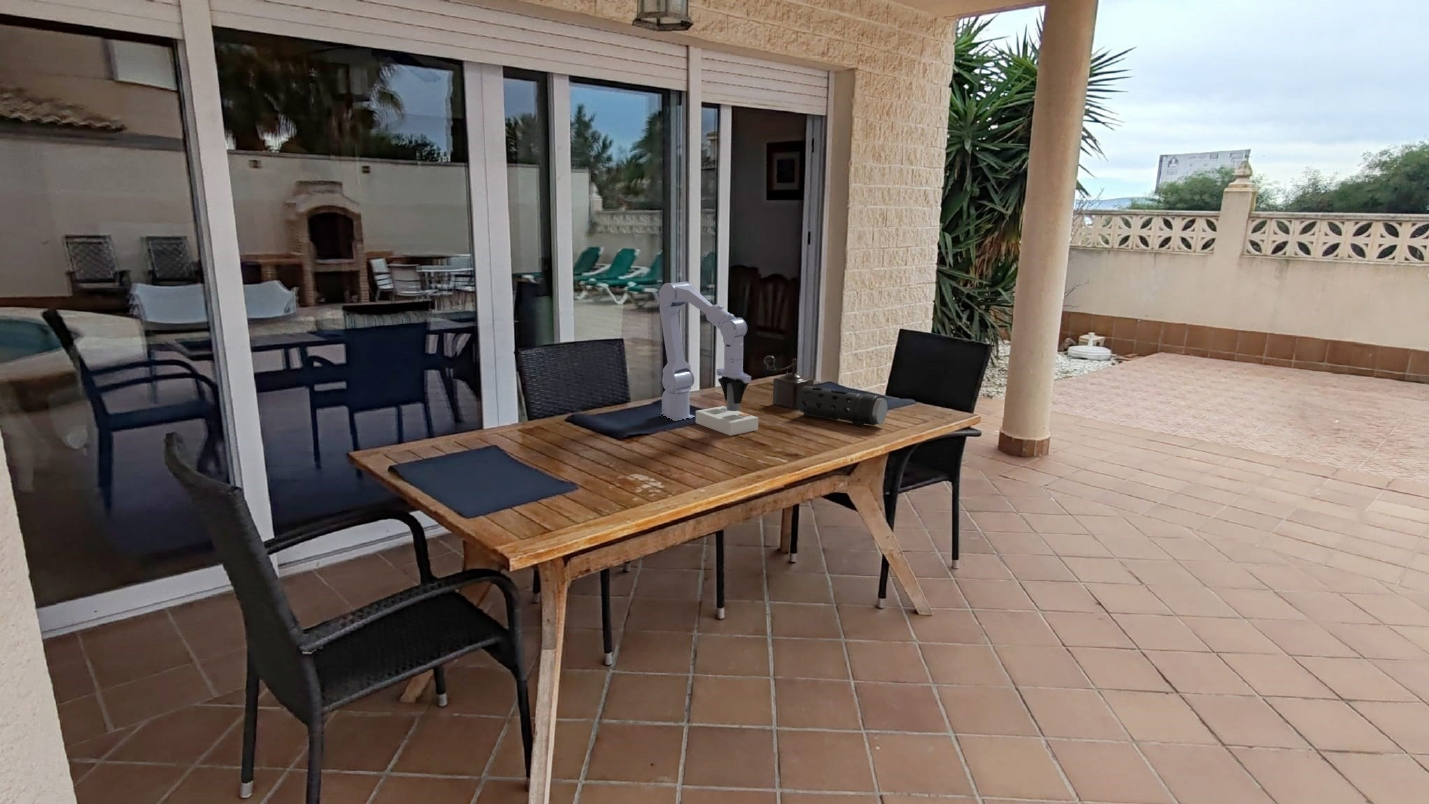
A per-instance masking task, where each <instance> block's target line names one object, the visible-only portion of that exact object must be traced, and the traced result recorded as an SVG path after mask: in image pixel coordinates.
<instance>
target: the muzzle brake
mask: <svg viewBox="0 0 1429 804" xmlns="http://www.w3.org/2000/svg"><path fill="white" fill-rule="evenodd" d="M806 393H810V394H808V395H806ZM804 401H805V402H806V401H807V402H808V404H806V403H805V402H804ZM797 404H798V409H797V410H798V411H799V412H800V413H802V414H803V415H804V416H808V417H812V418H813V417H814V418H818V419H823V420H824V419H826V420H834V421H838V420H840V421H845V422H851V423H852V424H853V425H855V426H864V425H869V426H876V425H882V424H883V423H884V422H885V420H886V417H887V414H888V403H887V400H886V399H885V398H882V397H881V396H880V395H877V394H876V395H875V394H868V393H867V394H861V393H855V392H850V391H842V390H836V389H830V388H822V387H816V386H813V387H810V386H804V387H803V388H802V389H801V390H800V392H799V395H798V401H797Z"/></svg>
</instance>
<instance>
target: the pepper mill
mask: <svg viewBox="0 0 1429 804" xmlns="http://www.w3.org/2000/svg"><path fill="white" fill-rule="evenodd" d="M775 361H776V358H775V357H774V356H773V355H766V356H765V358H764V359H763V363H764V364H765V365H766V369H767V370H768V371H769V370H770V371H774V372H783V371H785V374H783V375H781V376H780V377H775V378H773V379H772V380H773V386H772V387H773V388H772V390H773V392H772V404H773V405H775V406H778V407H781V408H785V409H789V410H799V409H798V404H797V401H798V395H799V392H800V390H801V389H802V388H803V387H804V386H810V387H814V382H815V381H814V379H812V378H808V377H805V376H804V377H803V376H802V375H801V374H799V373H797V372H796V365H797V359H796V358H793V359H792V363H791V364H789V366H786V367H783V368H776V366H775V365H774V364H775ZM791 368H792V372H789V371H787V370H790V369H791ZM808 394H810V393H806V395H808ZM804 402H805V401H804ZM805 403H806V404H808V402H807V401H806V402H805Z"/></svg>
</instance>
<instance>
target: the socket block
mask: <svg viewBox="0 0 1429 804" xmlns="http://www.w3.org/2000/svg"><path fill="white" fill-rule="evenodd" d="M695 424H697V425H699V426H703V427H705V428H709V429H711V430H714V431H717V432H720V433H722V434H725V435H727V436H734V435H740V434H744V433H750V432H754V431H758V430H759V417H758V416H754V415H752V414H750V413H746V412H743V411H740V410H739V411H728V410H727V406H724V405H721V406H716V407H712V408H704V409H699V410H695Z"/></svg>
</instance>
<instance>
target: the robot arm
mask: <svg viewBox="0 0 1429 804" xmlns="http://www.w3.org/2000/svg"><path fill="white" fill-rule="evenodd" d="M696 289H697V288H696V287H695V285H693V284H691V282H689V281H687V280H686V281H680V282H670V283H669V282H666V283H664V284H663V285H661V287H660V289H659V290H658V297H659V314H660V320H661V327H662V335H663V341H664V346H665V348H664V349H665V353H666V359H667V363H666V364H665V366H664V367H663V369H662V380H661V381H662V382H661V384H662V387H663V388H664V391H663V393H662V395H661V414H664V415H663V416H666V417H667V419H668V418H670V419H669V420H671V419H672V420H671V421H674V422H679V421H683V420H682V419H684V420H687V419H686V418H689V419H693V417H695V418H696V415H693V414H690V391H691V389H692V387H693V386H694V384H695V376H694V372H693V371H692V368H691V364H690V363H689V362H687V361H686V360H685V356H684V349H683V348H684V347H683V342H682V334H681V329H680V328H681V327H680V323H679V315H678V313H679V311H680V309H682V307H683V306H684V305H686V304H687V303H689V304H690V305H691V306H693V307H695V308H696V309H698V310H699V311H701V312H702V313H704V314H705V318H706V320H707V321H708V322H709V323H711V324H712V325H713V326H715V327H716V328H717V329H719V331H720V334H721V337H722V339H723V340H722V342H723V345H724V349H723V350H724V351H723V352H724V353H723V354H724V357H723V358H724V359H723V362H724V363H723V368H717V369H716V376H718V377H719V378H718V380H717V381H718V383H719V384H720V386H721V389H722V392H723V393H722V394H723V397H724V400H725V402H727V384H728V383H731V385H732V388H733V394H734V403H735V404H739V403H740V404H741V403H742V400H743V397H744V393H745V391H746V389H747V387H748V385H749V384H750V383H752V376H751V375H749V374H747V373H745V372H744V368H743V367H744V337H745V336H746V334H747V332H748V325H747V322H746V321H745V320H744V319H743V317H735V315H734V314H733V313H730V312H728V311H727V310H726V309H724V306H723V305H722V304H712V303H711V301H709V300H708V299H707V298H705V297H704V295H702V294H701V293H700V292H699V291H698V290H696ZM720 376H721V377H720ZM663 416H662V417H663ZM666 417H665V418H666ZM678 420H679V421H678Z"/></svg>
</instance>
